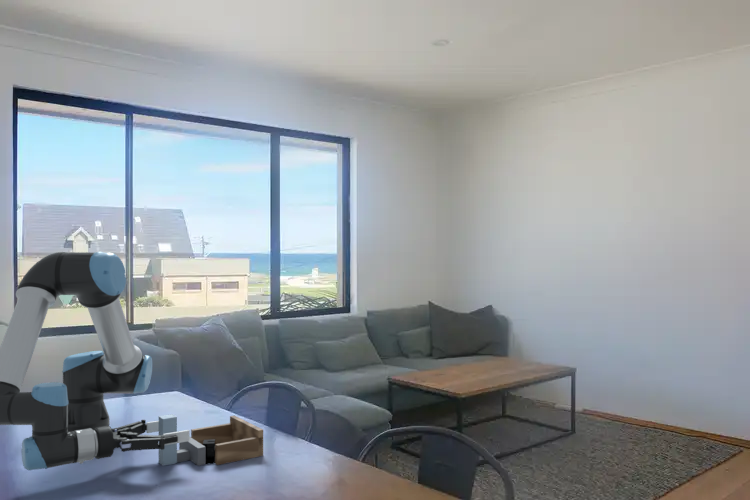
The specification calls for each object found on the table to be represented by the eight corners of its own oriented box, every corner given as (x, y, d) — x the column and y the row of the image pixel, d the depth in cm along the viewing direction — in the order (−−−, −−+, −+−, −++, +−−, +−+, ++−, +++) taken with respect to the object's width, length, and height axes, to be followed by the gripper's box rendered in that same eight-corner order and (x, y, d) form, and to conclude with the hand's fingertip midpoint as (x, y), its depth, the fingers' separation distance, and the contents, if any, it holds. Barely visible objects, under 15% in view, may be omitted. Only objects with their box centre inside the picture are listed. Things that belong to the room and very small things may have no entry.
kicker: (152, 457, 174) (152, 412, 174) (186, 450, 180) (186, 407, 180) (169, 471, 163) (169, 423, 163) (205, 464, 169) (205, 417, 169)
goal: (191, 447, 183) (191, 422, 183) (234, 439, 191) (234, 415, 191) (217, 465, 168) (217, 437, 168) (263, 455, 176) (263, 429, 176)
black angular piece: (222, 467, 168) (222, 448, 168) (191, 469, 167) (191, 449, 167) (224, 451, 181) (224, 433, 181) (195, 453, 180) (195, 435, 180)
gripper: (82, 446, 169) (164, 433, 182) (107, 473, 149) (197, 455, 162) (82, 417, 169) (164, 406, 182) (107, 440, 149) (197, 425, 162)
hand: (179, 429), depth 172 cm, fingers open, 13 cm apart
